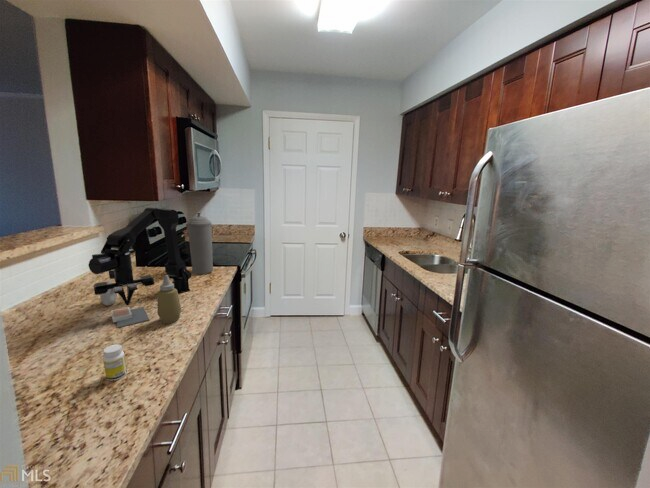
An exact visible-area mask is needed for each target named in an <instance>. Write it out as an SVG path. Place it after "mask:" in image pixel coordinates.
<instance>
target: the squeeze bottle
mask: <svg viewBox="0 0 650 488" xmlns="http://www.w3.org/2000/svg"><path fill="white" fill-rule="evenodd" d="M181 306H182V305H181V301H180V296H179V293H178V291H177V289H175V288H174V284H173V283H172V282H171V280H170V278H169V276H168V275H167V274H165V275H163V282H162V284H160V285H159V291H158V292H157V310H156V311H157V313H156V314H157V315H158V317H159V319H160V321H161V323H163V324H171V323H175V322H178V321H179V318H180V316H181V312H182V307H181Z"/></svg>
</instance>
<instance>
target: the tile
mask: <svg viewBox="0 0 650 488" xmlns="http://www.w3.org/2000/svg"><path fill="white" fill-rule="evenodd" d="M131 310H132V309H131V308H130V306H128V307H122V308H118V309H113V310H111V311H110V313H111V318H112V323H116V322H117V321H122V320H126V319H130V318H132V313H131Z"/></svg>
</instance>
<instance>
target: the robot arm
mask: <svg viewBox="0 0 650 488" xmlns="http://www.w3.org/2000/svg"><path fill="white" fill-rule="evenodd" d="M155 219H156V221H157V223H158V225H159V226H160V227H161V229H162V230H163V234H164V235H163V236H164V240H165V245H166V246H165V247H166V251H167V257H168V260H167V263H164V272H165V273H166V275H168V277H169V280H170V279H171V280H172V281H171V283H173V284H174V288H175V289H177V291H178V294H179V293H184V292H185V293H186V292H189V291H191V289H190V285H189V283H190V282H189V280H190V279H191V278H192V273H193V272H191V271H189V270H188V269H187V266H186V262H185V261H184V260H183V259H182V256H181V253H180V248H179V242H178V240H179V238H178V233H177V227H178V225H179V223H180V222H179V220H180V219H179V213H178V211H177V210H175V209H167V208H165V209H164V208H156V207H146V208H144V210H143V212H141V213H140V214H139V215H138V216H137V217H135V218H134V219H133V220H132V221H131V222H130V223H128V224H127V225H126V226H125V227H123V228H120V229H118V230H114V231H113V232H112V233H110V234H109V235H107V237H106V241H105V243H104V244H103V247H102V249H101V251H100V253H95V254H92V255H91V259H90V260H89V261H88V269H89V271H90V272H91V273H92V274H94V275H100V274H103V273H106V272H108V277H109V280H113V279H114V282H113V283H112V284H107V282H108V281H102V282H96V283H94V284H93V290H94V291H93V292H94V295H95V296H97V295H98V296H99V295H100V294H104V293H106V292H107V291H108V289H114V293H117V295H119V296H120V297H121V298H122V300H123V302H124V304H125V305H126V306H130V304H131V303H130V302H131V299H132V298H133V295H134V293H135V291H137V290H138V289H139V288H138V285H141V284H142V285H143V286H145V287H148V286H153V285H155V279H154V277H153V276H152V275H151V274H147V275H141V276H139V278H137V279H134V273H133V264H132V258H131V254H135V253H136V250H134V249H133V248H131V247H132V246H133V245H134V243H135V242H136V239H137V236H138V235H139V234H141V232H142V231H143V230H144V229H145V228H146V227H148V226H149V225H150V224H151V223H152V222H153V221H154V220H155ZM124 287H126V292H125V289H124Z"/></svg>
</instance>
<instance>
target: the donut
mask: <svg viewBox="0 0 650 488" xmlns="http://www.w3.org/2000/svg"><path fill="white" fill-rule="evenodd" d="M106 282H107V284H112V283H114V282H113V281H106ZM117 297H118V293H114V289H108V291H107V292H106V293H104V294H99V298H100V302H101V304H103V305H105V306H111V305H113V304H114V303H115V302H116V300H117Z"/></svg>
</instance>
